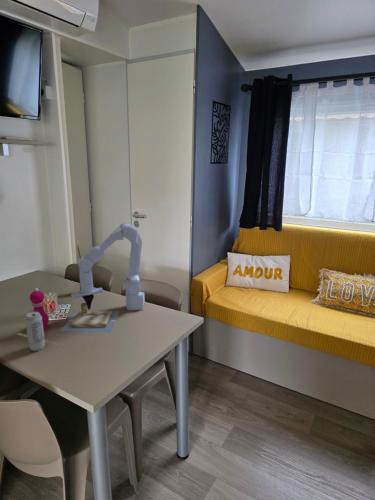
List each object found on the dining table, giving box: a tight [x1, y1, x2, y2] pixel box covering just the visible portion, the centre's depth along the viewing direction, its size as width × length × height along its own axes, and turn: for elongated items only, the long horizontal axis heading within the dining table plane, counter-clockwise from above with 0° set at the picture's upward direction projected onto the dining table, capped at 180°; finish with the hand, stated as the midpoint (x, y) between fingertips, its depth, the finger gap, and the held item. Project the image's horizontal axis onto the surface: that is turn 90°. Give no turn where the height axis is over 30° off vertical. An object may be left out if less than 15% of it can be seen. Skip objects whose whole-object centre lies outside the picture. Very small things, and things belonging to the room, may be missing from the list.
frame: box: [70, 302, 112, 327], centre depth 156 cm, size 16×12×6 cm
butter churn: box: [77, 245, 82, 291], centre depth 187 cm, size 9×10×28 cm
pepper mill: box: [29, 287, 50, 331], centre depth 148 cm, size 7×7×20 cm
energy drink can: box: [24, 311, 46, 352], centre depth 134 cm, size 6×6×15 cm
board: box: [60, 310, 120, 333], centre depth 157 cm, size 22×20×1 cm
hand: (88, 308), depth 162 cm, fingers closed
